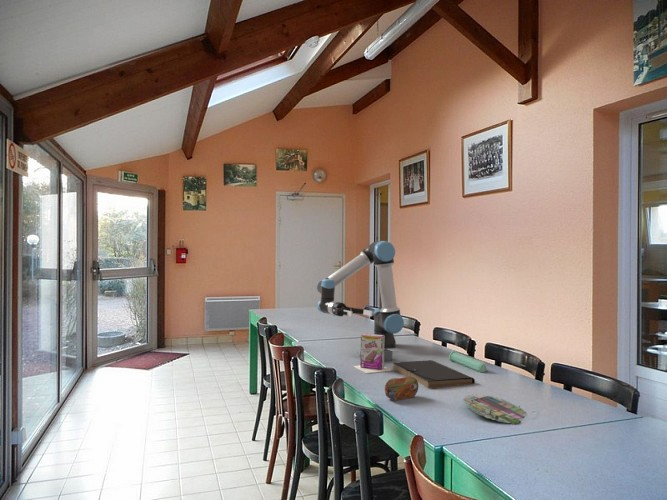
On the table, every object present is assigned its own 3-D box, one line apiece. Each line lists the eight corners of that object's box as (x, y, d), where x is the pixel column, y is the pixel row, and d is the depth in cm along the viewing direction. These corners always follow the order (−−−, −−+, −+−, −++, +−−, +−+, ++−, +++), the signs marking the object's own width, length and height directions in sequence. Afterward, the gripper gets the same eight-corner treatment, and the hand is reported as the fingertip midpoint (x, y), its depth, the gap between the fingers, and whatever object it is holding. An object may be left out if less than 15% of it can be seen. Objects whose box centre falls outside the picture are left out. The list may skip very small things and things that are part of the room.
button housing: (382, 356, 254) (382, 347, 254) (392, 360, 245) (392, 351, 245) (366, 357, 250) (366, 348, 250) (375, 362, 241) (375, 352, 241)
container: (486, 360, 223) (456, 348, 247) (477, 365, 221) (447, 353, 245) (490, 371, 224) (459, 358, 248) (481, 376, 222) (450, 363, 246)
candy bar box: (360, 367, 228) (360, 334, 227) (362, 365, 232) (363, 333, 232) (382, 370, 224) (382, 336, 224) (384, 367, 228) (384, 334, 228)
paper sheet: (377, 364, 237) (377, 363, 237) (391, 370, 224) (391, 370, 224) (353, 366, 232) (353, 365, 232) (366, 373, 219) (366, 372, 219)
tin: (387, 402, 178) (388, 380, 178) (383, 399, 181) (383, 378, 181) (418, 396, 185) (419, 376, 185) (414, 394, 188) (414, 374, 188)
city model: (522, 437, 151) (525, 420, 151) (453, 415, 163) (455, 398, 163) (533, 416, 172) (536, 400, 172) (471, 397, 185) (473, 382, 184)
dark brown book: (392, 362, 227) (434, 359, 235) (392, 370, 227) (434, 367, 235) (427, 380, 196) (474, 376, 204) (427, 389, 196) (474, 385, 204)
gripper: (354, 315, 261) (379, 320, 244) (318, 316, 247) (342, 321, 230) (355, 301, 262) (380, 306, 245) (319, 302, 247) (343, 306, 230)
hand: (362, 313), depth 237 cm, fingers open, 13 cm apart
